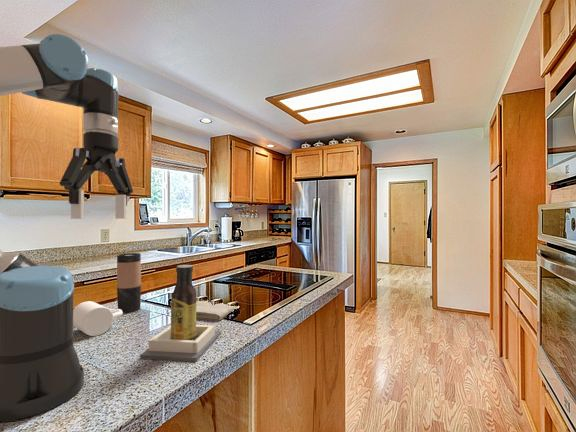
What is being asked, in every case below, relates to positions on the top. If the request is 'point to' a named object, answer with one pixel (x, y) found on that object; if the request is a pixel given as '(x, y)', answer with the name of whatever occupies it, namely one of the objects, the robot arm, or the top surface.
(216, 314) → the washcloth
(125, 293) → the travel mug
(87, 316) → the mug
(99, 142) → the robot arm
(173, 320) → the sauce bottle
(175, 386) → the top surface
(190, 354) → the socket plate
